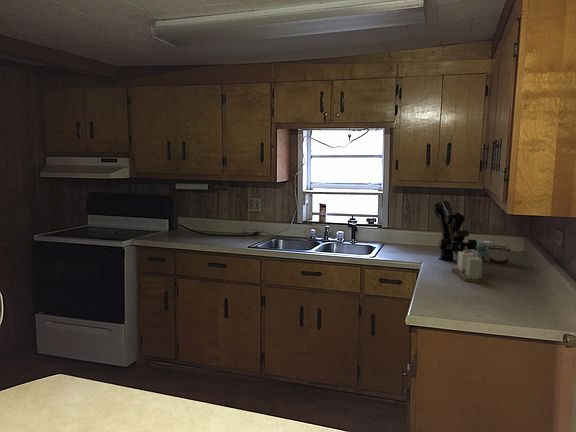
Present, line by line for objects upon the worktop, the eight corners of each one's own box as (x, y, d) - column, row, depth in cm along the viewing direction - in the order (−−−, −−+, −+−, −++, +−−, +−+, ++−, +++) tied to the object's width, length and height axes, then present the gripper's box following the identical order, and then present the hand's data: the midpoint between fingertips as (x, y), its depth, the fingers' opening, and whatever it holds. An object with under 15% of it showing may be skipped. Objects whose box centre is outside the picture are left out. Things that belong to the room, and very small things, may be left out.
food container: (511, 264, 273) (512, 246, 272) (510, 266, 268) (511, 248, 267) (488, 261, 279) (489, 244, 278) (486, 263, 274) (487, 246, 273)
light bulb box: (477, 261, 280) (478, 242, 278) (470, 258, 286) (471, 240, 285) (493, 260, 282) (494, 242, 281) (485, 257, 289) (486, 240, 288)
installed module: (465, 274, 240) (466, 256, 239) (476, 275, 240) (477, 257, 238) (469, 277, 234) (470, 259, 233) (481, 278, 234) (482, 259, 232)
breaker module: (457, 268, 253) (458, 248, 252) (467, 268, 253) (469, 249, 251) (461, 271, 246) (462, 251, 245) (472, 271, 246) (473, 251, 244)
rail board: (451, 270, 255) (452, 266, 255) (470, 271, 255) (471, 266, 254) (464, 281, 234) (464, 276, 234) (485, 281, 234) (485, 276, 233)
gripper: (441, 224, 260) (446, 248, 250) (477, 224, 259) (483, 249, 250) (437, 236, 269) (441, 260, 259) (471, 237, 268) (476, 260, 258)
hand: (460, 257), depth 256 cm, fingers closed
